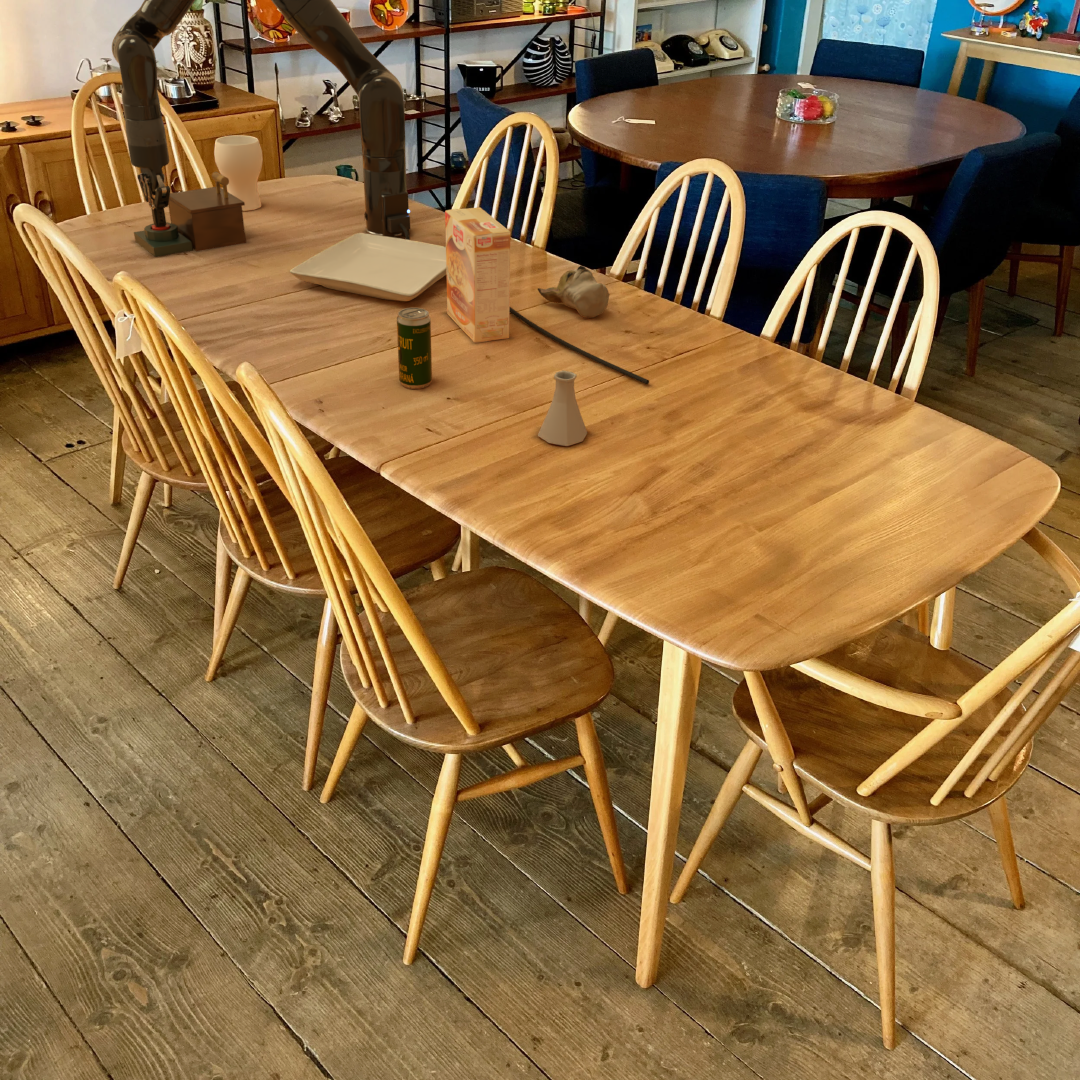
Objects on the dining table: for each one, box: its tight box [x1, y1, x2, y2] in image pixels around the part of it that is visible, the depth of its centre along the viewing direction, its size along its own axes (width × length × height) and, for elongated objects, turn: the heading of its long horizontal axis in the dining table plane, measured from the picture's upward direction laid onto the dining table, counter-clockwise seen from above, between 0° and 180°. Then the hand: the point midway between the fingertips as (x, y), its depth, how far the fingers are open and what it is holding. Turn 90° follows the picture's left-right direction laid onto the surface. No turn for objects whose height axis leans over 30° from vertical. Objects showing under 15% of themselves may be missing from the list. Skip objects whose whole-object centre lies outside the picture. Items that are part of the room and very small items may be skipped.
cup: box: [213, 134, 264, 212], centre depth 255 cm, size 11×11×15 cm
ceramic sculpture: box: [537, 265, 610, 319], centre depth 209 cm, size 11×9×15 cm
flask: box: [537, 370, 588, 447], centre depth 164 cm, size 7×7×10 cm
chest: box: [167, 199, 247, 252], centre depth 237 cm, size 11×14×8 cm
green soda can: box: [396, 307, 433, 390], centre depth 178 cm, size 5×5×12 cm
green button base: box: [133, 222, 194, 258], centre depth 233 cm, size 12×8×4 cm, turn 36°
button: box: [152, 224, 170, 230], centre depth 232 cm, size 4×4×2 cm
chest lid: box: [169, 171, 245, 214], centre depth 234 cm, size 12×14×5 cm
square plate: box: [289, 232, 447, 302], centre depth 221 cm, size 27×27×4 cm
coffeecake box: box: [444, 207, 512, 344], centre depth 197 cm, size 15×7×20 cm, turn 23°
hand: (160, 225), depth 232 cm, fingers closed
